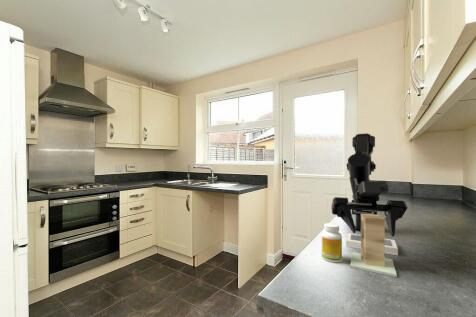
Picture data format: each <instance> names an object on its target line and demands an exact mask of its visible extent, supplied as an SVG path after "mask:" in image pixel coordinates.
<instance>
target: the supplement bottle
mask: <svg viewBox="0 0 476 317" xmlns="http://www.w3.org/2000/svg"><path fill="white" fill-rule="evenodd" d="M323 225H324V226H323V231H322V232H321V258H322V259H323V260H324V261H326V262H329V263H340V262H342V260H343V250H342V248H343V246H342V245H343V236H342V234H341V233H340V232H339V231H340V226H339V224H337V223H332V222H330V223H328V222H326V223H324V224H323Z"/></svg>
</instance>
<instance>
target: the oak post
mask: <svg viewBox="0 0 476 317" xmlns="http://www.w3.org/2000/svg"><path fill="white" fill-rule="evenodd" d="M385 222H386V220H385V218H384V217H383V216H381V215H380V214H377V215H374V214H361V231H360V235H361V249H360V254H361V259H362V260H363V262H364V263H365V265H373V266H382V267H385V258H386V257H385V254H386V253H385V239H386V237H385V236H386V235H385V234H386V233H385V232H386V231H385V227H386V224H385Z"/></svg>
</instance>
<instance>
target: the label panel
mask: <svg viewBox="0 0 476 317" xmlns="http://www.w3.org/2000/svg"><path fill="white" fill-rule="evenodd" d="M396 243H397V242H396V241H395V239H389V238H385V254H386V255H394V256H399V248H398V245H397V244H396ZM345 247H347V248H353V249H357V250H359V249H360V250H361V234H356V233H348V232H347V235H346V240H345Z"/></svg>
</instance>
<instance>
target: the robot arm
mask: <svg viewBox="0 0 476 317" xmlns="http://www.w3.org/2000/svg"><path fill="white" fill-rule="evenodd" d="M351 144H352V145H351V146H352V148H354V149H353V150H354V152H355V153H353V154H352V155H350V156H349V157H348V158H347V163H346V169H347V171H348V173H349V174H348V175H349V183H350V187H351V192H352V196H351V197H352V200H351V201H349V198H348V197H340V196H335V197H334V198H333V199H332V203H331V214H333V215H335V216H336V217H338V218H341V220H342V221H343V222H344V223H345V224H346V225H347V227H348V228H349V229H350V231H351V232H352V234H356V232H357V231H359V232H361V214H374V215H378V212H380V213H382V212H383V213H384V216H385V218H384V219H385V222H386V226H387V229H388V231H389V234H390V236H391V238H392V237H395V235H396V234H395V233H396V222H397V221H398V220H399V219H402V218H403V217H404V215H405V213H406V211H407V210H408V205H407V203H406V201H405V200H402V199H387V202H386V204H384V203H383V204H380V203H378V202H379V201H380V199H381V198H380V195H383V194H386V193H388V192H389V185H388V183H387V181H386V180H379V181H371V179H370V176H371V175H372V172H375V170H376V168H377V166H376V165H377V164H375V162H374V161H372V154H373V153H374V148H376V137H375V136H374V135H371V134H370V133H366V132H365V133H356V134H355V136H353V137H352V142H351ZM353 216H355V221H354V219H353Z"/></svg>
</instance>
